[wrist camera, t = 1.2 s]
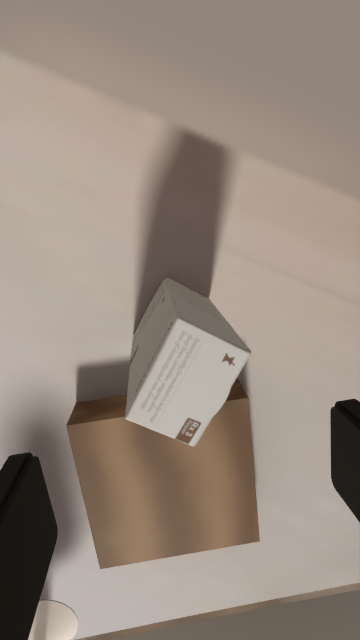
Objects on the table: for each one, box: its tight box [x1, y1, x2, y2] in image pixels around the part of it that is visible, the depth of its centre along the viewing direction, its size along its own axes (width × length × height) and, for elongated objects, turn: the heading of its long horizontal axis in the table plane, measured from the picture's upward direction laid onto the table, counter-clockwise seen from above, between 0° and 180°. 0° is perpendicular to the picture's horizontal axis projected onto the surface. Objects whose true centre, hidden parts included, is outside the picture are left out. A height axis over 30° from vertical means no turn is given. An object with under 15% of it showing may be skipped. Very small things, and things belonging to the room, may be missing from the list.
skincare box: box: [125, 277, 251, 447], centre depth 22 cm, size 6×4×12 cm
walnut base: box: [66, 379, 260, 569], centre depth 30 cm, size 14×14×4 cm
